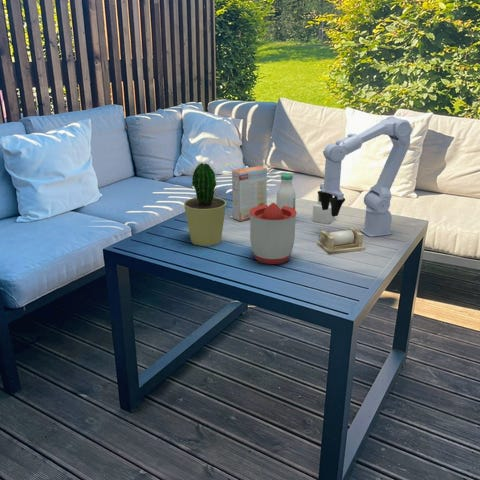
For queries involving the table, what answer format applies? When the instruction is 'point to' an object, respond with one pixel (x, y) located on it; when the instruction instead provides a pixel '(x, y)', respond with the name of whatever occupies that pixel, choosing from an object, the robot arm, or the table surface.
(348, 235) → the roll
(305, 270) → the table surface
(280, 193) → the milk bottle
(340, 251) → the beige wooden frame
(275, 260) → the citrus juicer
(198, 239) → the potted cactus
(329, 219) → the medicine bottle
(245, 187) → the cracker box
